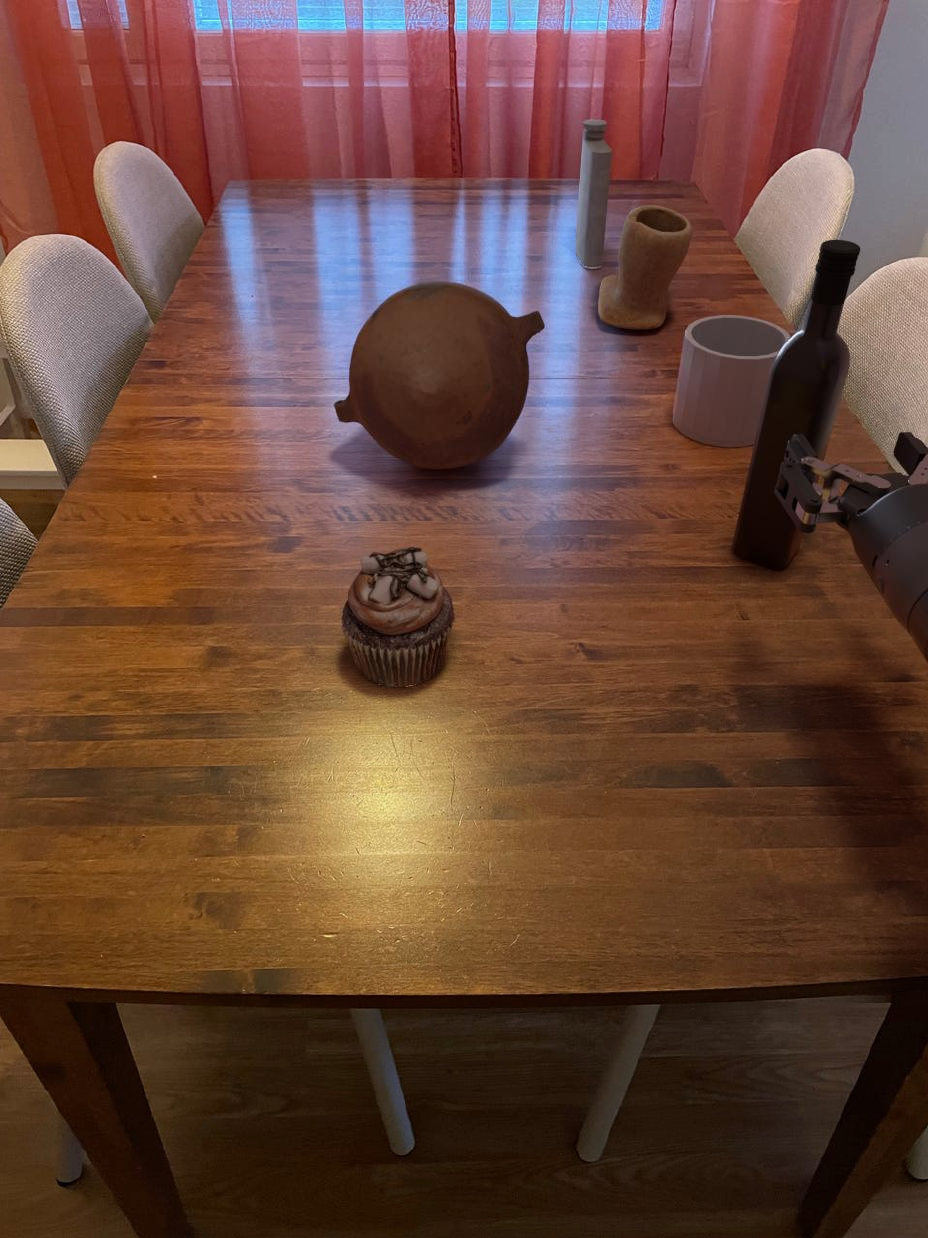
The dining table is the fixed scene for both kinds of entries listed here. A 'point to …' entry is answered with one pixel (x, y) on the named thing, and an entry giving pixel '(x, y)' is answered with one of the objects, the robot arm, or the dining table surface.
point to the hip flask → (593, 194)
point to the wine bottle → (797, 409)
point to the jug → (439, 374)
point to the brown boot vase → (644, 268)
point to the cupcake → (398, 618)
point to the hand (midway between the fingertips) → (847, 443)
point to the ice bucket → (725, 378)
